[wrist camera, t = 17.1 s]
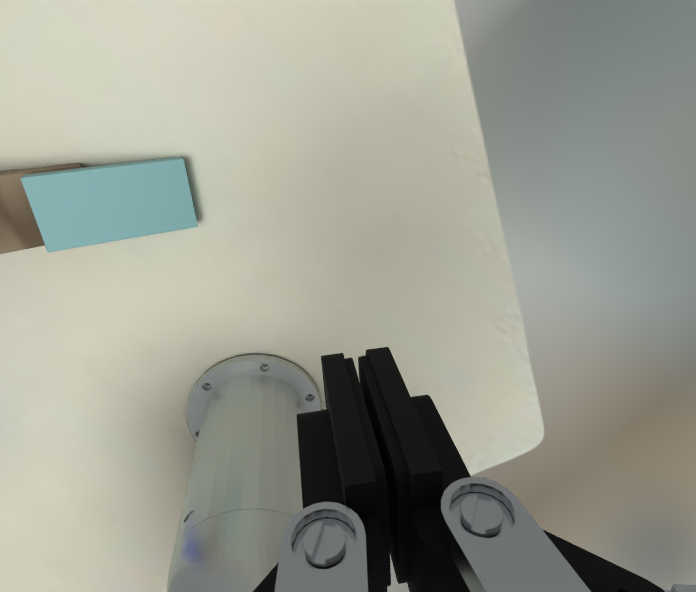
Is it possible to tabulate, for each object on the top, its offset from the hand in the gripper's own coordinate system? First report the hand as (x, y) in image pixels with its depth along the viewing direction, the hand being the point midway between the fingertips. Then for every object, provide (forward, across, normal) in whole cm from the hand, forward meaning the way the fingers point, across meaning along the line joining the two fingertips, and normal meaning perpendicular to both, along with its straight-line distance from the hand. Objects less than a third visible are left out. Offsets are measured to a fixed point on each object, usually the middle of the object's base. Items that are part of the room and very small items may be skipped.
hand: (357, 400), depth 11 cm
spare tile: (+26, +8, 0) cm, 28 cm away
